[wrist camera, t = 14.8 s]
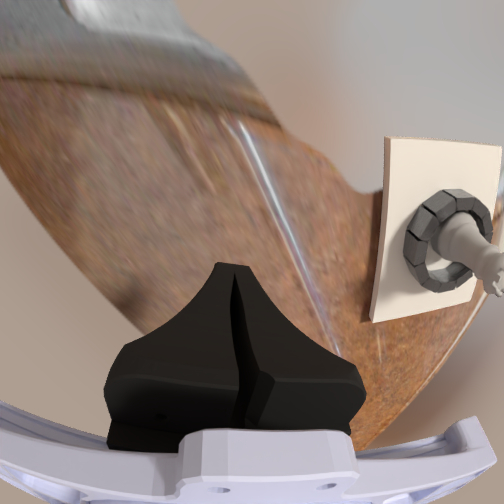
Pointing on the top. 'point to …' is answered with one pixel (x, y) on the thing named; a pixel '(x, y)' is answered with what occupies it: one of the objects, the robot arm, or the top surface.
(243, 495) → the robot arm
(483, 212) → the segmented grey ring
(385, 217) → the mount plate
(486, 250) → the rook chess piece
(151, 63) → the top surface
